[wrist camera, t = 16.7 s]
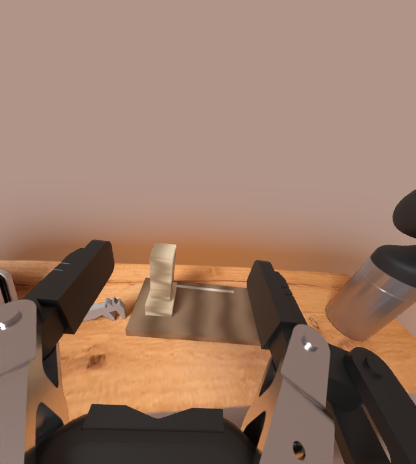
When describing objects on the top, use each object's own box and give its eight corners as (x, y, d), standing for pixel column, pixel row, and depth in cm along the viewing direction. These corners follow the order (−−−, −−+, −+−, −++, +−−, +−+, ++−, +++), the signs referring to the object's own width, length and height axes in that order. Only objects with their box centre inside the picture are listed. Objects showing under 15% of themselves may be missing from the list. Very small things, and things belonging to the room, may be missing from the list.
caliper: (126, 314, 35) (123, 294, 32) (125, 319, 34) (122, 299, 31) (-11, 335, 28) (-33, 313, 25) (-16, 343, 28) (-39, 321, 24)
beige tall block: (176, 289, 39) (181, 239, 32) (171, 317, 34) (176, 264, 26) (154, 286, 39) (154, 235, 31) (145, 314, 33) (142, 260, 26)
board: (250, 294, 44) (252, 288, 43) (262, 345, 34) (266, 340, 33) (145, 283, 42) (145, 277, 41) (126, 335, 32) (125, 329, 30)
